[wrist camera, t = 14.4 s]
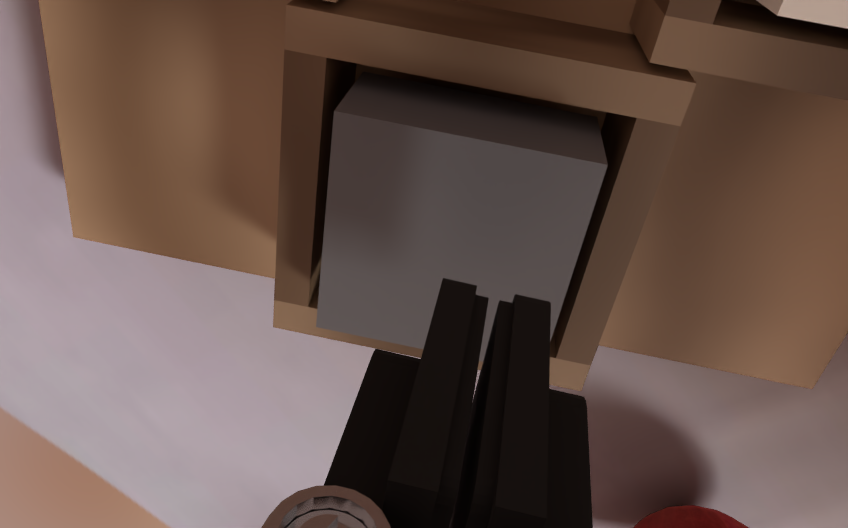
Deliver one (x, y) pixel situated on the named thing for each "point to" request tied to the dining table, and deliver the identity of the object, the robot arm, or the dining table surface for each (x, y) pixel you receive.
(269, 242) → the wooden shape sorter board
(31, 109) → the dining table surface
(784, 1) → the ivory key
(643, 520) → the pomegranate
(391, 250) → the charcoal key
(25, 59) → the dining table surface
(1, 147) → the dining table surface
